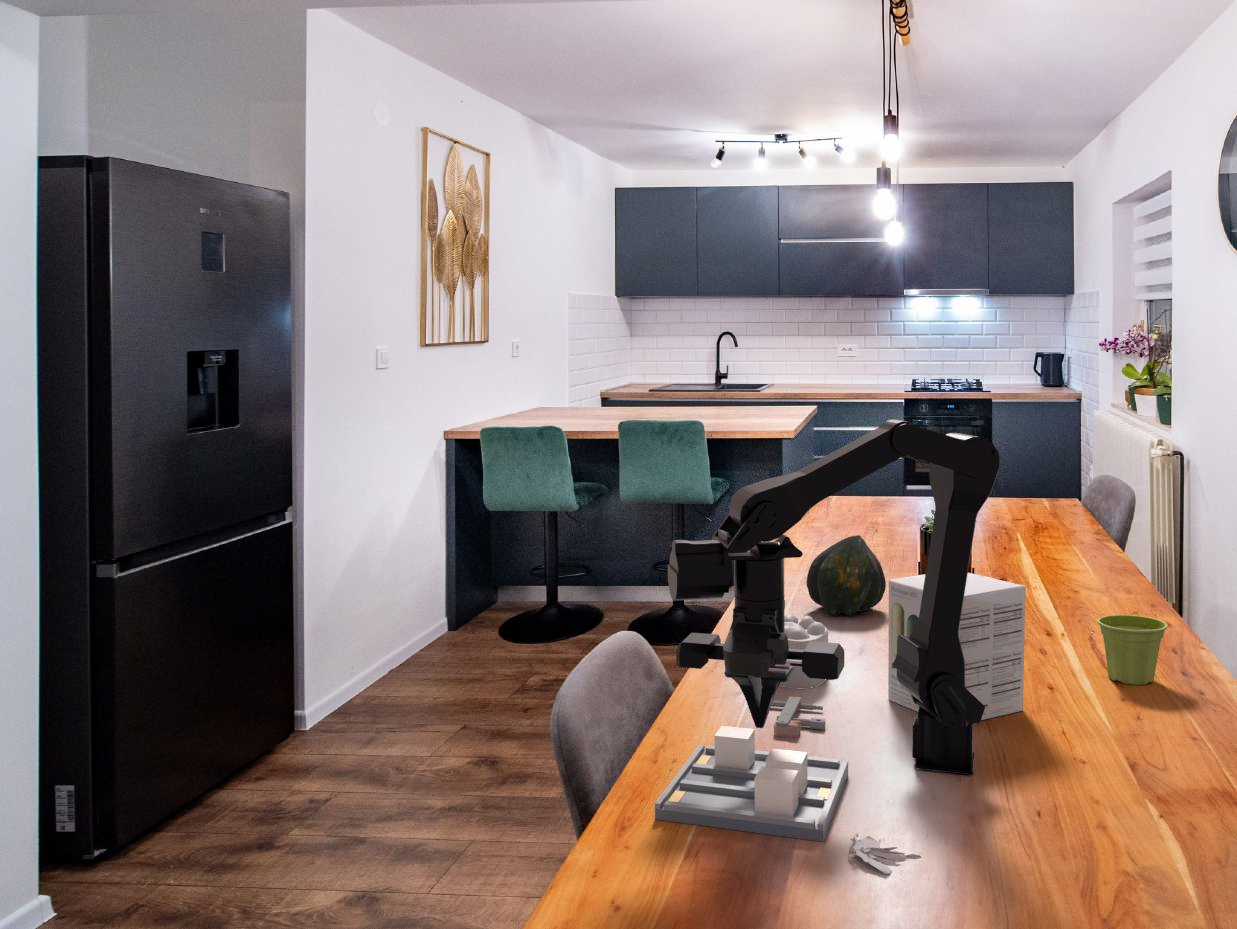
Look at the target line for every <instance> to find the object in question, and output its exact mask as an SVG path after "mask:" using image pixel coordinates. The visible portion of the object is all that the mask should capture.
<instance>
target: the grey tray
mask: <svg viewBox="0 0 1237 929" xmlns="http://www.w3.org/2000/svg"><path fill="white" fill-rule="evenodd" d="M705 745H706V744H699V745H698V746H697V748H696V749H695V750H694V751H693V753H692V754H691V755H690V756H689V758H688V759H687V760H686V762H685V763H684V765H683V766H682V767H681V769H680V770H679V771H678V772H677V774H676V775H675V776H674V777H673V779H672V780H671V782H670V783H669V784H668V785H667V787H666V788H665V789H664V791H662V793H661V794H660V796H659V797H658V798H657V800H656V801H655V802H654V819H655V820H657V821H665V822H666V821H667V822H672V823H680V824H687V825H696V826H701V827H702V826H703V827H709V828H719V829H726V830H732V831H733V830H734V831H740V832H748V833H755V834H763V835H770V836H776V837H778V836H779V837H785V838H793V839H800V840H808V841H814V842H815V841H816V842H824V841H825V839H826V836H827V834H828V830H829V828H830V826H831V822H832V820H833V817H834V814H835V811H836V810H837V807H836V806H838V804H839V801H840V799H839V798H841V795H842V793H843V791H844V787H845V785H846V783H847V780H846V779H848V777H849V760H848V759H843V760H842V762H841V763H840V761H841V760H840V759H839V758H830V757H820V756H810V755H807V787H806V789H805V791H804V794H800V793H798V807H797V809H796V811H795V813H794V816H793V817H791V816H784V815H776V814H768V813H760V812H755V782H754V778H755V777H756V775H757V773H758V772H759V770H760V768H761V766H762V767H766V758H767V756H768V754H769V753H770V751H764V750H755V761H754V762H753V764H752V766H751V767H750V769H741V768H732V767H723V766H715V745H709V744H708V745H707V746H706V747H705ZM845 782H846V783H845ZM844 784H845V785H844ZM842 790H843V791H842Z"/></svg>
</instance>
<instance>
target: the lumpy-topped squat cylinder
mask: <svg viewBox="0 0 1237 929" xmlns="http://www.w3.org/2000/svg"><path fill="white" fill-rule="evenodd" d="M785 633H786V635H787V639H788V645H789V649H800V650H805V648H806V647H807V645H808V644H809V642H810V641H813V642H827V643H829V629H828V628H827V627H826V626H825V625H824V624H823V623H822V622H819V621H815V620H814V618H813V617H812V616H811V615H806V616H803V617H802V618H800V619H799V618H798V617H797V616H795V615H793V614H785ZM824 680H825V679H814V678H808V677H807V676H806V674H805V673H804V672H803V671H802V666H795V670H794V672H793V673H792V675H791V676H790V678H789V679H788V681H786V682H780V685H779V687H784V688H788V689H795V688H808V689H812V688H811V687H813V688H816V687H818V686H820V685H821V684H822V683H824V682H825V681H826V680H825V681H824ZM823 681H824V682H823ZM819 684H820V685H819ZM760 685H761V678H760ZM817 685H818V686H817ZM790 687H791V688H790Z"/></svg>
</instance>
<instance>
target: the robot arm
mask: <svg viewBox="0 0 1237 929" xmlns="http://www.w3.org/2000/svg"><path fill="white" fill-rule="evenodd" d="M904 457H905V458H908V459H911V460H914V461H917V462H921V463H924V464H927V465H928V466H929V486H930V489H931V493H932V497H933V502H934V505H935V507H934V508H935V511H934V517H933V523H932V529H931V536H930V544H929V549H928V555H927V563H926V568H925V573H924V574H925V581H924V587H923V594H922V600H921V607H920V613H919V620H918V623H917V626H916V627H915V629H914V630H913V632H912V633H911V635H910V636H909V637H906V636H903V635H898V639H897V655H896V658H895V660H894V662H893V664H892V666H893V667H894V668H895V669H897V679H898V681H899V682H900V684H901V685H902V687H903V688H904V689H905V690H906V691H907V692H909V693H910V695H911V698H912V700H913V702H914V703H915V704H917V705H919V706H920V707H919V711H918V712H917V718H914V720H913V723H912V735H911V736H912V738H911V742H912V743H911V744H912V747H911V749H912V750H911V753H912V754H911V755H912V756H911V757H912V758H913V759H915V763H914V768H916V769H917V770H926V771H935V772H943V773H952V774H953V773H955V774H961V775H962V774H963V775H972V774H973V772H974V763H975V752H974V725H975V724H976V725H977V724H980V723H981V721H982V720H981V718H982V715H983V713H984V710H985V706H984V705H983V704H982V703H981V702H980V701H979V700H978V699H977V698H976V697H975V696H974V695H972V694H971V693H970V692H969V691H968V690H967V689H966V688H965V660H964V656H963V652H962V647H961V643H960V639H959V625H960V619H961V613H962V606H963V600H964V594H965V587H966V581H967V574H968V573H969V567H970V562H971V555H972V547H973V542H974V534H975V528H976V522H977V518H978V515H979V512H980V510H981V509H982V507H983V506H984V505H985V503H986V502H987V500H988V498H989V497H990V496H991V494H992V492H993V488H994V486H995V483H996V480H997V477H998V474H999V471H1000V467H1001V454H1000V451H999V450H998V449H997V448H996V446H995V444H994V443H993V442H991V441H990V440H989V439H987V438H984V437H981V436H977V435H971V434H965V433H960V432H959V433H958V432H949V433H946V434H943V433H940V432H936V431H934V430H930V429H926V428H923V427H921V426H918V425H916V424H915V423H913V422H911V421H907V420H901V419H888V420H885V421H883V423H882V424H881V425H879V426H878V427H877V428H875V429H873V430H871V431H868V433H866V434H864V435H862V436H860V437H858V438H856V439H854V440H852V441H850V442H849V443H846V444H845V445H843V446H842V447H840V448H838V449H836V450H834V451H832V452H830V453H829V454H827V455H825V456H823V457H821V458H819V459H817V460H815V461H813V462H811V463H810V464H808V465H806V466H804V467H803V468H801V469H798V470H797V471H792V472H790V473H788V474H787V473H786V474H782V475H778V476H775V477H770V478H765V479H763V480H760V481H757V482H754V483H751V484H748V485H745V486H742V487H741V488H740V489H738V490H737V491H736V492H735V493H734V494H733V495H732V497H731V501H730V503H729V511H728V514H727V516H726V517H725V518H724V520H723V521H722V522H721V524H720V525H719V527H717V529H716V531H715V533H713V535H712V537H711V539H710V540H709V539H708V540H685V539H673V541H671V551H670V556H669V564H668V565H667V581H668V589H669V594H670V598H671V600H672V601H691V600H694V601H695V600H709V599H710V600H711V599H712V600H713V599H723V597H724V595H725V594H727V593H729V592H730V590H731V589H732V586H734V588H733V589H734V608H733V609H732V622H731V624H730V628H729V631H728V633H727V636H726V637H725V638H726V639H725V641H724V643H721V642H722V640H721V638H720V635H719V634H715V633H714V634H713V633H702V632H701V633H700V632H690V634H689V635H688V636H686V638H684V639H683V640H682V641H681V642H680V643H678V645H677V647H676V652H675V656H676V657H675V658H676V659H675V660H676V661H675V664H676V666H677V667H679V668H686V669H698V670H702V669H703V668H704V667H705V666H706V665H707V664H708V662H709V660H714V661H715V660H717V661H718V660H719V661H723V662H724V663H723V664H724V669H725V671H724V673H723V674H724V676H725V677H726V678H729V679H732V680H734V682H735V683H736V684H737V685H738V686H739V688H740V690H741V692H742V694H743V696H744V698H745V701H746V704H747V706H748V709H749V712H750V715H751V717H752V718H751V719H752V720H753V723H754V726H755V728H756V729H764V728H765V725H766V722H767V719H768V716H769V713H770V711H771V708H772V706H771V705H772V702H773V701H774V699H775V696H776V693H777V691H778V689H779V687H780V686H779V685H780V682H786V681H788V679H789V678H790V676H791V675H792V673H793V672H794V670H795V666H802V671H803V672H804V673H805V674H806V676H807V677H808V678H814V679H826V680H829V681H833V680H838V679H839V678H840V676H841V673H842V671H843V669H844V668H845V649H844V647H842V645H841V644H840V643H838V642H828V643H827V642H813V641H810V642H809V644H808V645H807V647H806V648H805V650H800V649H789V645H788V639H787V635H786V633H785V616H786V614H785V610H786V600H785V559H795V558H802V557H803V555H804V553H803V551H802V550H800V549H799V548H798V547H797V546H795V545H794V543H793V542H792V540H791V538H790V536H788V535H786V534H785V533H787V532H788V531H789V530H790V529H792V528H793V527H794V526H796V525H797V524H798V523H800V522H801V520H802V519H803V518H804V517H806V515H807V514H808V512H809V511H810V510H811V509H812V508H813V507H815V506H816V505H817V504H819V503H820V502H821V501H824V500H825V499H827V498H829V497H831V496H833V495H834V494H837V493H838V492H840V491H842V490H844V489H846V488H847V487H848V488H849V486H851V485H853V484H855V483H857V482H859V481H861V480H862V479H864V478H867V477H868V476H869V475H870V476H871V474H872V475H873V473H875V472H877V471H880V470H881V469H883V468H884V467H886V466H888V465H890V464H892V463H894V462H895V461H898V460H899V459H902V458H904ZM733 561H734V562H733ZM733 563H734V565H733ZM733 569H734V570H733ZM733 580H734V581H733ZM733 582H734V584H733ZM760 678H761V684H760ZM826 680H825V681H826Z"/></svg>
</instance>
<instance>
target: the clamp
mask: <svg viewBox="0 0 1237 929" xmlns="http://www.w3.org/2000/svg"><path fill="white" fill-rule="evenodd" d="M801 701H802V697H799V696H789V697H788V699H787V700H786V701H781V700H779V701H778V700H773V702H772V705H771V708H772V707H775V708H782V710H781V712H780V713H779V715H777V716H776V721H775V722H774V724H773V735H774V734H775V735H774V736H776V737H782V736H785V737H784V738H792V737H798V738H799V736H800V734H801V727H806V728H807V727H808V728H809V729H814V730H825V729H826V718H815V717H811V718H810V719H809V718H808V719H807V718H799V717H794V715H795V713H796V712H795V711H798V712H800V710H807V711H813V710H817V711H823V709H824V706H823V705H815V704H811V703H801Z"/></svg>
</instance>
